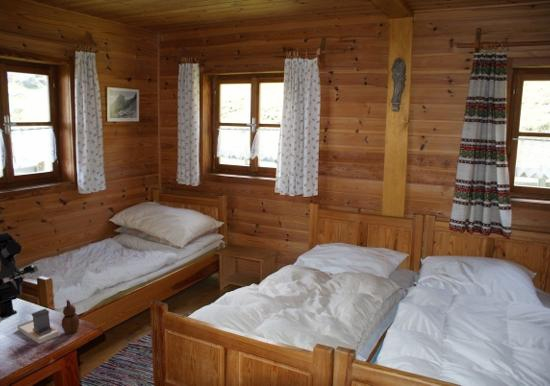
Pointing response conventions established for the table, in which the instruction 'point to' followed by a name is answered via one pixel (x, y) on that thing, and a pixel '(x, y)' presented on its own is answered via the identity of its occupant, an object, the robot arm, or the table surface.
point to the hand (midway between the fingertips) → (19, 295)
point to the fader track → (28, 331)
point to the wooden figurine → (70, 319)
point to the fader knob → (41, 322)
